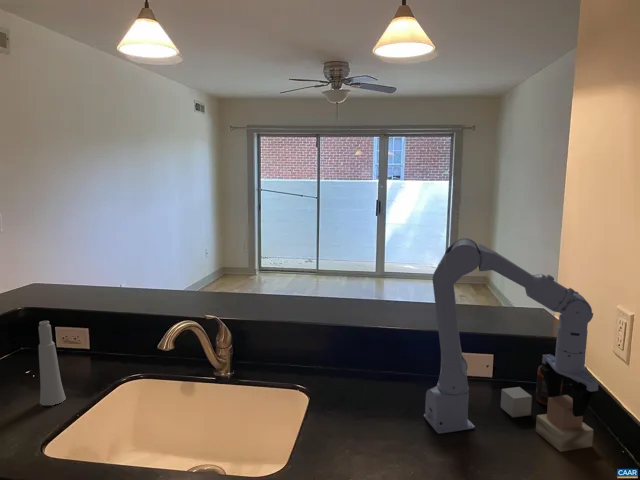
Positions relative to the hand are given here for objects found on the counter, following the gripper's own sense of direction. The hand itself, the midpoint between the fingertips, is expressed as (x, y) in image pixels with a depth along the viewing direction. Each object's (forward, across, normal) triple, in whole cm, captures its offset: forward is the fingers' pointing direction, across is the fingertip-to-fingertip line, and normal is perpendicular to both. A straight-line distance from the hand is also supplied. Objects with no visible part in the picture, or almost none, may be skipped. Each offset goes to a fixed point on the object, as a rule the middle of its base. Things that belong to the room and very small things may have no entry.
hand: (565, 406), depth 105 cm
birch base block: (+8, 0, 0) cm, 8 cm away
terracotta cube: (+4, 0, 0) cm, 4 cm away
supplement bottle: (+8, +15, -8) cm, 19 cm away
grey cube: (+8, +13, +3) cm, 16 cm away
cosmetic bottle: (+8, +46, +118) cm, 127 cm away
